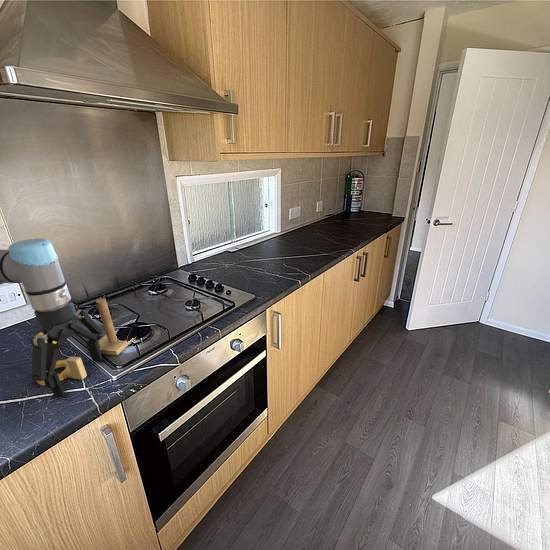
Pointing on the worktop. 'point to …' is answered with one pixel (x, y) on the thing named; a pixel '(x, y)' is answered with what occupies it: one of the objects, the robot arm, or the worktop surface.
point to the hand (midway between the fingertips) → (80, 376)
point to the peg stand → (109, 332)
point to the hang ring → (70, 369)
